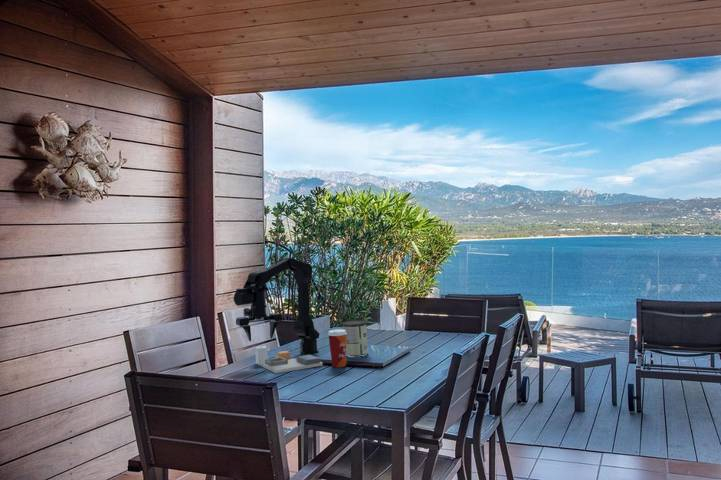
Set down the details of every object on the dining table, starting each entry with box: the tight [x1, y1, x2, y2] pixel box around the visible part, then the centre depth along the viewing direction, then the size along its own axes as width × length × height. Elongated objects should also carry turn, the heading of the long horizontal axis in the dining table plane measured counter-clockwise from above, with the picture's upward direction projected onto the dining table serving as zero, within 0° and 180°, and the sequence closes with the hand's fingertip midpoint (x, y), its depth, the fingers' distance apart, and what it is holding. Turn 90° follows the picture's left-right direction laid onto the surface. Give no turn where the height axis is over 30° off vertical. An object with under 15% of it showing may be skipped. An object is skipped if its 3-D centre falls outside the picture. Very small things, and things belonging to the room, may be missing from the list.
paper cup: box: [327, 328, 347, 368], centre depth 269 cm, size 8×8×14 cm
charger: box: [254, 345, 269, 366], centre depth 281 cm, size 4×4×7 cm
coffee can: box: [341, 319, 369, 356], centre depth 288 cm, size 10×10×14 cm
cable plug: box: [274, 350, 291, 360], centre depth 287 cm, size 4×12×4 cm, turn 28°
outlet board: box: [261, 357, 324, 374], centre depth 273 cm, size 20×16×3 cm
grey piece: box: [296, 354, 321, 365], centre depth 273 cm, size 6×10×2 cm, turn 28°
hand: (260, 339), depth 281 cm, fingers open, 9 cm apart
